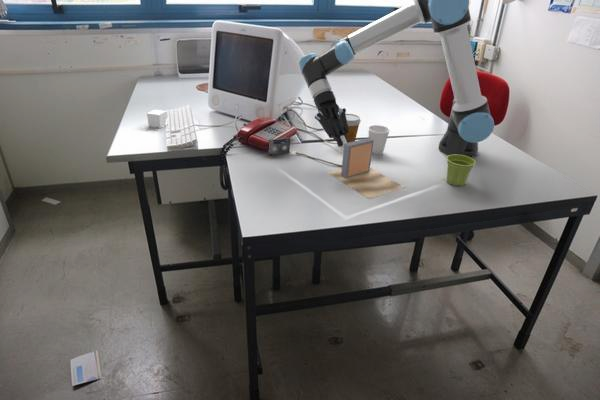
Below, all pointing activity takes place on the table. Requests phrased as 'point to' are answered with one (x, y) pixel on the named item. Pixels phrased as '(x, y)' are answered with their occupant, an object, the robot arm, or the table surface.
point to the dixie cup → (378, 137)
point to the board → (368, 183)
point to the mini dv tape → (279, 145)
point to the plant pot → (458, 168)
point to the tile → (357, 157)
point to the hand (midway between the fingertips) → (347, 153)
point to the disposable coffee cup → (352, 126)
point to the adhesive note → (157, 118)
